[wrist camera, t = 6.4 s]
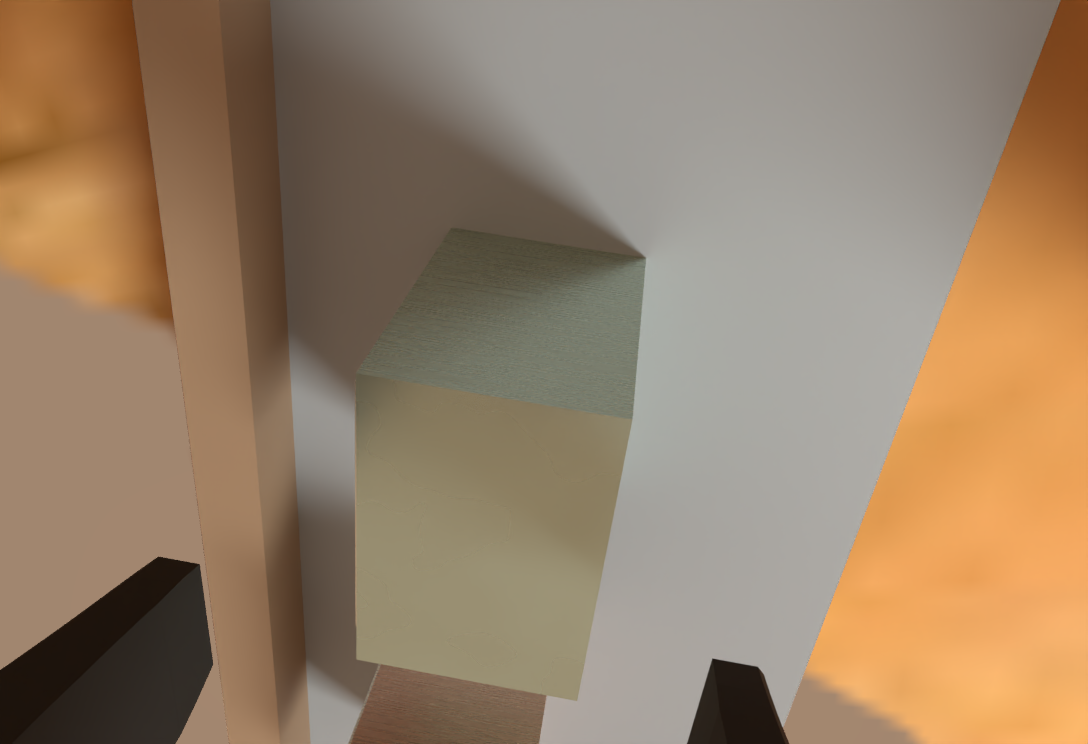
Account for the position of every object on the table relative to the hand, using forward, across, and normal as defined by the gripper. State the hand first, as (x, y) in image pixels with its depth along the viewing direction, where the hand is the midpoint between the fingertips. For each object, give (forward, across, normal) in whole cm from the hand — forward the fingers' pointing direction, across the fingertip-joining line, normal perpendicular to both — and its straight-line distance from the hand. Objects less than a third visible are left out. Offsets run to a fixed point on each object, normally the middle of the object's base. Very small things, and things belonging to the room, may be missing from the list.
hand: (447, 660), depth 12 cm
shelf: (+9, 0, +1) cm, 9 cm away
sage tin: (+8, 0, 0) cm, 8 cm away
